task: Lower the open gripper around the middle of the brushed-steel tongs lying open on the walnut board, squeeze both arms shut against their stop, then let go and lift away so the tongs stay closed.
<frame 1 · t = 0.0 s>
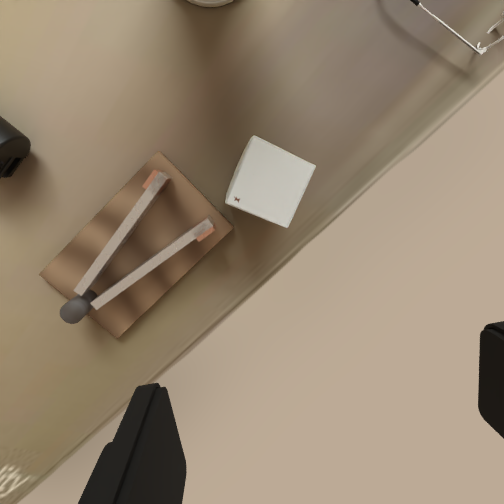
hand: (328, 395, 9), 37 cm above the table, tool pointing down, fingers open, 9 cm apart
tong arm a: (121, 232, 41), point 4 cm above the table, hinge at 8.0°
tong arm b: (155, 263, 42), point 4 cm above the table, hinge at 8.0°
tong board: (139, 248, 45), on the table
supplement box: (259, 181, 44), on the table
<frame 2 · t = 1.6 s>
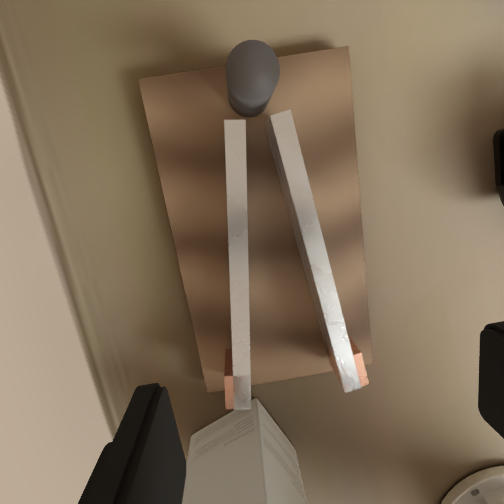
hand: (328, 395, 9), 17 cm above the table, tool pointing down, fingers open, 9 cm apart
tong arm a: (318, 258, 22), point 4 cm above the table, hinge at 8.0°
tong arm b: (234, 272, 22), point 4 cm above the table, hinge at 8.0°
tong board: (267, 235, 25), on the table
supplement box: (244, 440, 30), on the table
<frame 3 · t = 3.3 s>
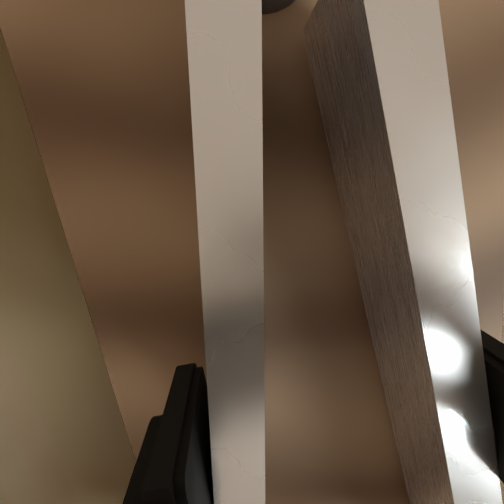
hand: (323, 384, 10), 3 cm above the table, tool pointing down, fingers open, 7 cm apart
tong arm a: (430, 365, 9), point 4 cm above the table, hinge at 8.0°, touching gripper
tong arm b: (226, 402, 9), point 4 cm above the table, hinge at 8.0°, touching gripper
tong board: (296, 289, 12), on the table
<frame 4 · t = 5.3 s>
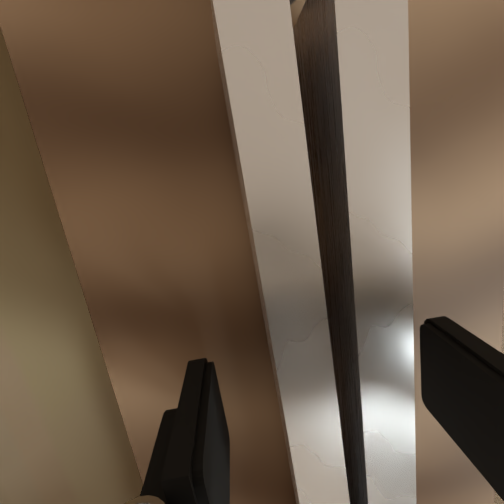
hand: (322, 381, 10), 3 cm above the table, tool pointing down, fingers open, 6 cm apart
tong arm a: (369, 385, 9), point 4 cm above the table, hinge at -0.7°
tong arm b: (290, 400, 9), point 4 cm above the table, hinge at -0.8°
tong board: (296, 289, 12), on the table
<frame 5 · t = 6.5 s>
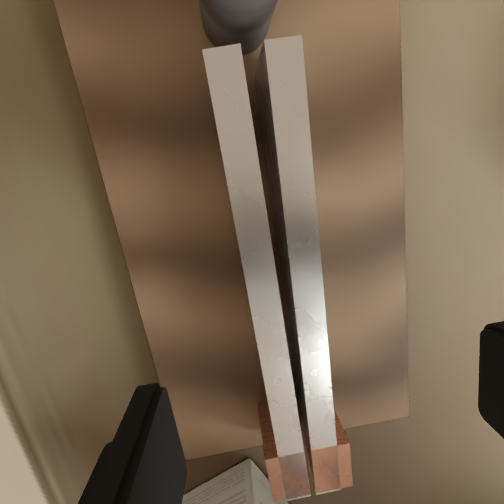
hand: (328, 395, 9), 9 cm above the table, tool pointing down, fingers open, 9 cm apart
tong arm a: (306, 293, 14), point 4 cm above the table, hinge at -0.7°
tong arm b: (256, 302, 14), point 4 cm above the table, hinge at -0.8°
tong board: (265, 241, 17), on the table
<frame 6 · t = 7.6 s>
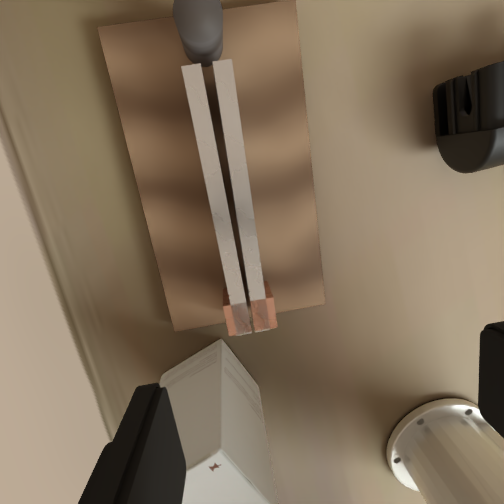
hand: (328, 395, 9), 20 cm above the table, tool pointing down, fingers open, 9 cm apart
tong arm a: (247, 207, 24), point 4 cm above the table, hinge at -0.7°
tong arm b: (217, 212, 24), point 4 cm above the table, hinge at -0.8°
tong board: (227, 184, 27), on the table
supplement box: (211, 379, 32), on the table
end cap: (482, 118, 28), on the table
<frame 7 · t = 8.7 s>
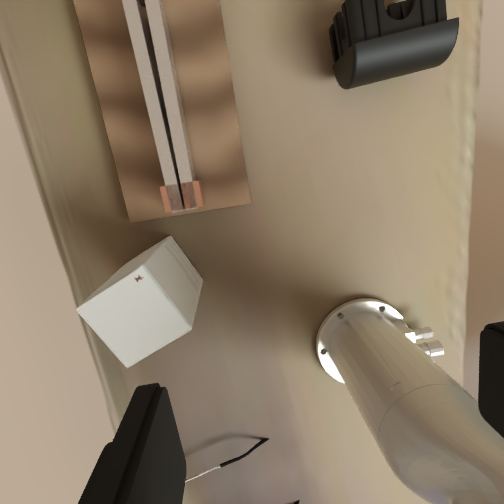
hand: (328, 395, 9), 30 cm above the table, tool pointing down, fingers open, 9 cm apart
tong arm a: (178, 112, 31), point 4 cm above the table, hinge at -0.7°
tong arm b: (155, 115, 31), point 4 cm above the table, hinge at -0.8°
tong board: (170, 103, 35), on the table
supplement box: (164, 273, 39), on the table
end cap: (372, 53, 35), on the table
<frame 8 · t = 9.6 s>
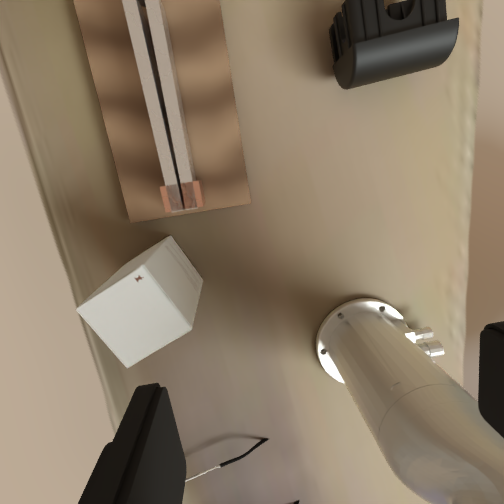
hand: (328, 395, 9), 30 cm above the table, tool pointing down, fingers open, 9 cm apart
tong arm a: (178, 112, 31), point 4 cm above the table, hinge at -0.7°
tong arm b: (155, 116, 31), point 4 cm above the table, hinge at -0.8°
tong board: (170, 103, 35), on the table
supplement box: (164, 273, 39), on the table
end cap: (372, 53, 35), on the table
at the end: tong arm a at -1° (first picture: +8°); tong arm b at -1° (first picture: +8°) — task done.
